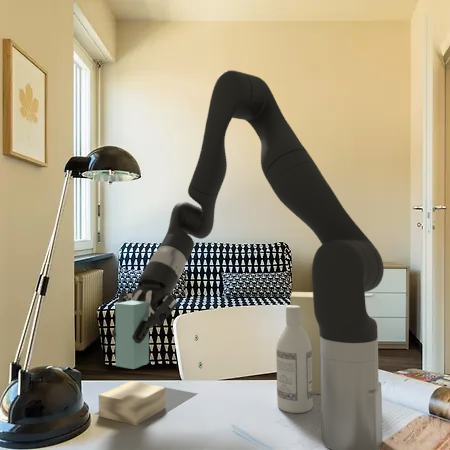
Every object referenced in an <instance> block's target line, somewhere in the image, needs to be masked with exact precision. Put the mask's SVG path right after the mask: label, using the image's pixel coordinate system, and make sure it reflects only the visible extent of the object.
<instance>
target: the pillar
mask: <svg viewBox="0 0 450 450" xmlns="http://www.w3.org/2000/svg"><path fill="white" fill-rule="evenodd" d="M148 303H149V302H144V301H132V300H131V301H126V302H121V303H115V309H116V316H115V326H116V339H115V366H116V367H119V368H124V369H131V370H134V369H138V368H140V367H142V366H145V365H148V364H150V343H149V342H150V336H149V335H150V333H149V331H150V330H149V331H148V333H147V335H146V337H145V339H144V340H143V341H142V342H141V343H136V342H135V341H134V340H133V338H132V336H133V334H134V333H135V331H136V329H137V327H138V326H139V324H140V322H141V321H143V316H144V314H145V312H146V307H147V305H148Z"/></svg>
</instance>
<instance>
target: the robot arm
mask: <svg viewBox="0 0 450 450" xmlns="http://www.w3.org/2000/svg"><path fill="white" fill-rule="evenodd" d="M271 90H272V89H270V87H269V86H268V84H267V82H266V81H265V80H263V79H262V78H261V77H259V76H256V75H253V74H249V73H245V72H242V71H238V70H232V69H230V70H229V69H228V70H225V71H224V72H222V73H221V74H220V75H219V76H218V78H217V79H216V81H215V83H214V86H213V89H212V92H211V96H210V101H209V107H208V111H207V118H206V121H205V127H204V134H203V139H202V145H201V148H200V152H199V157H198V160H197V163H196V166H195V169H194V172H193V174H192V177H191V180H190V182H189V186H188V187H187V188H188V189H187V193H188V196H189V197H190V198H191V199H192V200H193V201H194V202H196V203H197V204H198V205H199V206H198V205H195V204H193V203H190V202H188V201H179V202H178V203H176V204H175V205H174V206H173V208H172V210H171V215H170V219H169V225H168V228H167V229H168V230H167V232H166V235H165V236H164V238H163V240H162V241H161V243H160V245H159V247H158V249H157V250H156V251H154V254H152V256H151V258H150V260H149V262H148V263H147V264H146V266H145V268H144V270H143V271H142V273H141V275H140V277H139V279H138V284H137V286H136V288H135V289H133V291H132V293H131V292H130V293H126V292H125V291H122V292H120V293H119V296H118V299H117V303H121V302H126V301H131V300H132V301H144V302H149V303H148V305H147V307H146V312H145V314H144V316H143V321H141V322H140V324H139V326H138V327H137V329H136V331H135V333H134V334H133V336H132V338H133V340H134V341H135V342H136V343H141V342H142V341H143V340H144V339H145V337H146V335H147V333H148V331H150V329H152V328H153V327H154V326H156V327H160V326H162V324H164V322H165V321H166V320H167V318H168V317H169V316H170V315H172V312H173V311H174V310H175V309H176V308H177V307H178V302H177V301H176V299H175V298H174V296H173V295H172V293H173V291H174V290H175V288H176V286H177V284H178V282H179V279H180V278H181V276H182V274H183V272H184V269H185V266H186V265H187V262H188V260H189V258H190V256H191V254H192V253H193V250H194V248H195V247H194V246H195V241H194V240H193V238H195V239H196V238H197V239H199V240H200V239H201V240H203V239H206V238H207V237H208V236H209V235H210V234H211V233H212V231H213V228H214V223H215V211H216V210H215V209H216V203H217V199H218V196H219V193H220V190H221V188H222V186H223V183H224V180H225V177H226V174H227V167H228V166H227V165H228V163H227V162H228V161H227V155H226V148H225V147H226V145H225V144H226V143H225V142H226V141H225V139H226V133H227V130H228V127H229V125H230V123H231V121H232V119H238V120H244V121H246V122H247V123H248V124H249V125H250V126H251V127H252V128H253V130H254V131H255V134H256V135H257V136H258V139H259V140H260V143H261V144H260V145H261V147H260V165H261V170H262V172H263V175H264V177H265V179H266V181H267V182H268V185H269V186H270V188H271V189H272V191H273V192H274V194H275V195H276V197H277V198H278V199H279V201H280V203H282V204H283V205H284V206H285V207H286V208H287V209H288V210H289V211H290V212H292V213H293V214H294V215H295V216H296V217H297V218H298V219H299V220H301V221H302V223H304V224H305V225H307V226H308V228H309V229H310V230H311V231H312V232H313V233H314V235H316V238H317V239H318V240H319V241H320V244H321V245H320V246H319V247H318V248H317V249H316V251H315V254H314V256H313V258H312V259H313V260H312V264H311V285H312V292H313V302H314V313H315V317H316V320H317V322H318V325H319V331H320V381H321V394H320V418H321V419H320V420H321V423H320V424H321V425H320V428H321V429H320V430H321V441H322V443H323V445H324V446H326V448H328V447H329V449H330V450H331V449H332V450H380V449H381V446H382V443H383V440H384V439H383V437H384V435H383V432H384V431H383V403H382V402H383V400H382V399H383V397H382V382H381V381H380V380H379V346H378V345H379V343H378V334H379V333H378V323H377V321H376V320H375V319H374V318H372V317H370V316H369V314H368V312H367V306H366V292H370V291H372V290H374V289H376V288H377V287H378V286H379V285H380V284H381V282H382V280H383V277H384V263H383V262H384V261H383V259H382V256H381V254H380V252H379V250H378V249H377V248H376V246H375V245H374V243H373V242H371V240H370V239H369V238H368V236H367V235H366V234H365V233H364V232H363V230H362V229H361V228H360V227H359V226H358V224H357V223H356V222H355V221H354V220H353V218H352V217H351V215H349V213H348V212H347V210H346V209H345V208H344V206H343V205H342V204H341V202H340V200H339V198H338V197H337V195H336V193H335V192H334V191H333V189H332V187H331V186H330V185H329V183H328V182H327V180H326V179H325V177H324V176H323V174H322V172H321V170H320V169H319V168H318V166H317V164H316V162H315V161H314V160H313V158H312V156H311V155H310V153H309V152H308V151H307V149H306V148H305V146H304V145H303V144H302V142H301V141H300V139H299V138H298V136H297V134H296V133H295V132H294V130H293V129H292V127H291V126H290V124H289V123H288V121H287V120H286V118H285V116H284V114H283V112H282V110H281V108H280V106H279V104H278V102H277V101H276V99H275V95H274V94H273V92H272V91H271ZM191 236H192V237H193V238H192V237H191ZM113 315H114V316H115V317H116V308H115V309H114V312H113ZM111 334H112V335H111V336H112V337H113V339H114V340H116V325H115V326H114V328H113V330H112V331H111Z"/></svg>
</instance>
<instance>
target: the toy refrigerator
mask: <svg viewBox="0 0 450 450" xmlns="http://www.w3.org/2000/svg"><path fill="white" fill-rule="evenodd" d="M289 299H290V305H296V306H300V308H301V326H302V327H303V329H304V330H305V332H306V333H307V335H308V337H309V339H310V343H311V349H312V395H321V381H320V331H319V325H318V322H317V320H316V317H315V313H314V302H313V291H312V292H311V291H291V294H290V298H289ZM290 305H289V306H290Z"/></svg>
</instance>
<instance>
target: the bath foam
mask: <svg viewBox="0 0 450 450" xmlns="http://www.w3.org/2000/svg"><path fill="white" fill-rule="evenodd" d="M275 355H276V396H277V397H276V400H277V403H276V404H277V406H278V408H279V409H280V410H282V411H283V412H285V413H286V412H287V413H291V414H304V413H307V412H309V411H311V410H312V409H313V403H314V401H313V397H314V396H313V395H314V394H312V349H311V343H310V339H309V337H308V335H307V333H306V332H305V330H304V329H303V327H302V326H301V308H300V306H296V305H286V306H285V326H284V327H283V329H282V330H281V331H280V334H279V336H278V338H277V342H276V354H275Z"/></svg>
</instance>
